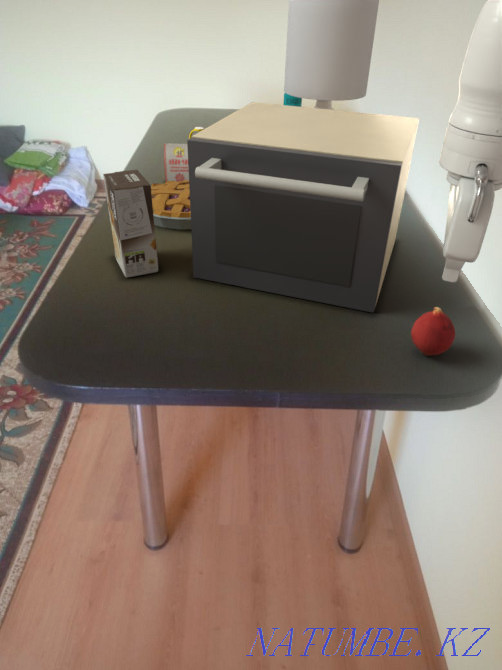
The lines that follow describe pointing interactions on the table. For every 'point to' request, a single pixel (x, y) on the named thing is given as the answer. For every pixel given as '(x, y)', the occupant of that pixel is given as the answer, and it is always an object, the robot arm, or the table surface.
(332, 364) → the table surface
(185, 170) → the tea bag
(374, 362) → the table surface
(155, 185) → the pie
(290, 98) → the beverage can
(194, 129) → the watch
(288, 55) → the lamp
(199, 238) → the oven door
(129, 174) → the coffee box
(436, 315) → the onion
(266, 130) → the oven
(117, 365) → the table surface
